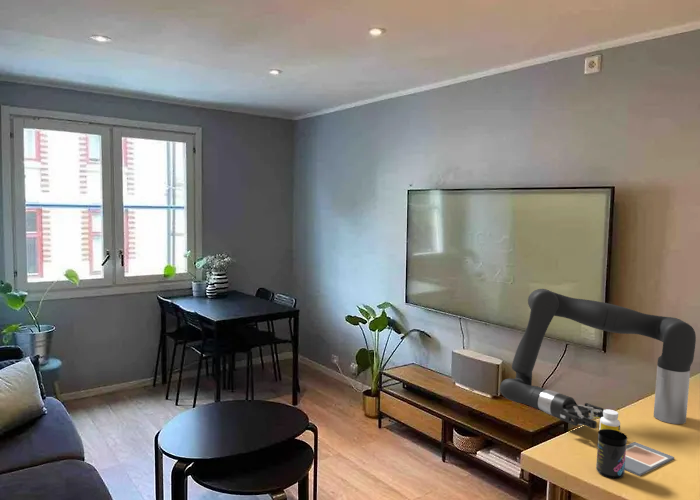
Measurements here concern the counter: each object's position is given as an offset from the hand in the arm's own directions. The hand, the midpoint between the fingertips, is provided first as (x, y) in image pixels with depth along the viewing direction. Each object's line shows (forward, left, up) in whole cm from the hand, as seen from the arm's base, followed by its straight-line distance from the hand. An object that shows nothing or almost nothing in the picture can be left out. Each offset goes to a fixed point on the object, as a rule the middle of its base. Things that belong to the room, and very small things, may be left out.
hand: (604, 422), depth 157 cm
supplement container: (+16, +12, -6) cm, 21 cm away
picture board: (+2, +11, -6) cm, 13 cm away
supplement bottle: (0, +2, -6) cm, 6 cm away
